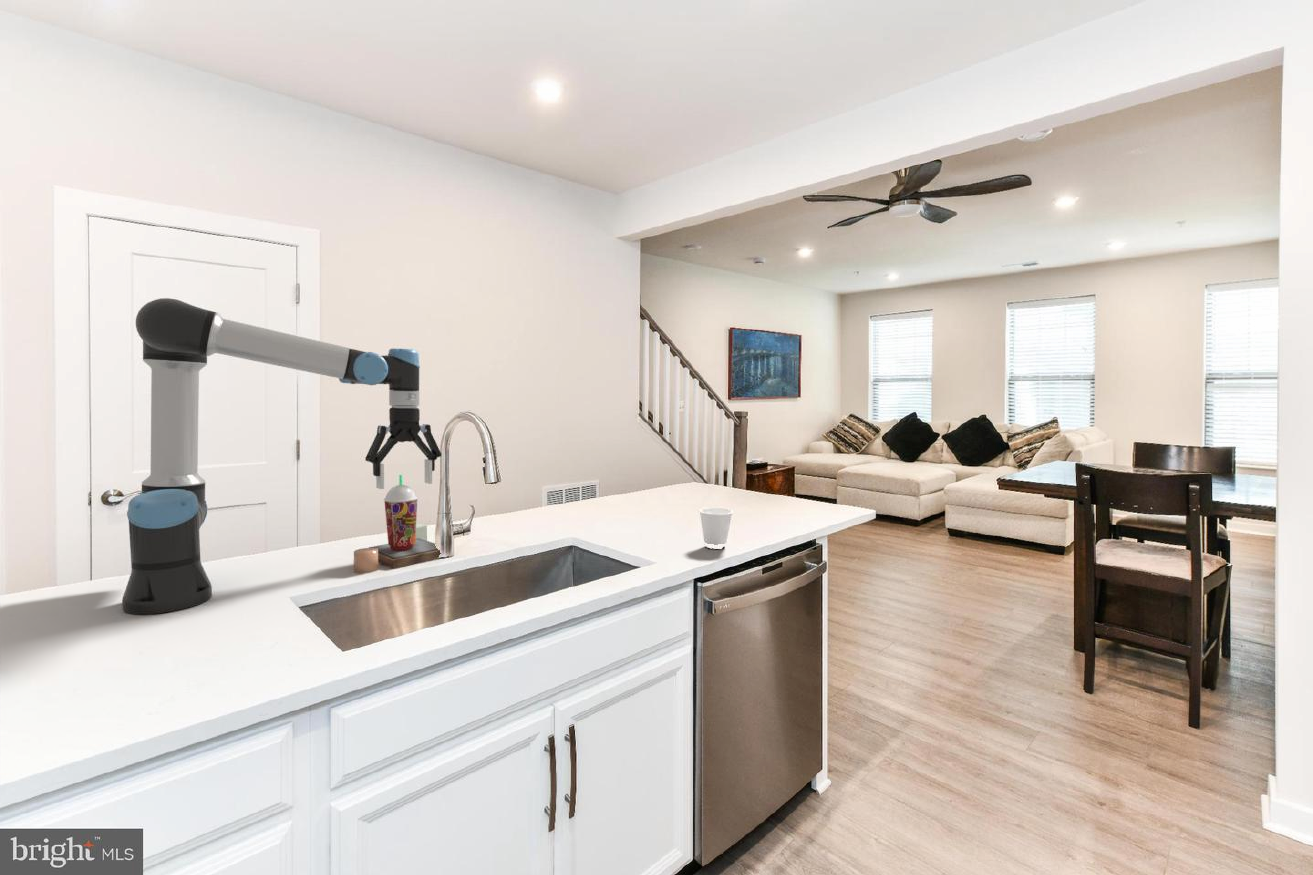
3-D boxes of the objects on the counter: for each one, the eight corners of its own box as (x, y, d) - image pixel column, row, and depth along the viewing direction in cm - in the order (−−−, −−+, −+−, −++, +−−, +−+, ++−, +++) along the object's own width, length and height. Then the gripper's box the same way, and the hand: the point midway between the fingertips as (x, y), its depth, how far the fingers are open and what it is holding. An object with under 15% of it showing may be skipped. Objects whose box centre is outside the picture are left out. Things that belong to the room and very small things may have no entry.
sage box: (414, 545, 184) (413, 528, 184) (401, 543, 186) (401, 526, 186) (427, 541, 188) (426, 525, 188) (414, 539, 191) (414, 523, 190)
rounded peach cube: (360, 574, 156) (359, 555, 155) (350, 570, 159) (349, 550, 159) (382, 569, 160) (382, 550, 160) (372, 565, 164) (371, 546, 163)
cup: (692, 544, 189) (693, 508, 188) (720, 541, 193) (721, 506, 192) (708, 553, 180) (709, 515, 179) (738, 550, 184) (739, 513, 184)
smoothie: (410, 552, 166) (409, 477, 165) (379, 551, 167) (377, 477, 165) (423, 544, 175) (422, 473, 173) (394, 543, 175) (392, 472, 173)
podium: (393, 568, 161) (393, 558, 161) (364, 556, 171) (364, 547, 171) (449, 556, 173) (449, 547, 173) (419, 545, 183) (419, 536, 183)
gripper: (364, 408, 157) (365, 492, 158) (454, 407, 175) (454, 482, 177) (350, 406, 161) (351, 488, 163) (439, 406, 180) (439, 479, 182)
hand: (405, 485), depth 170 cm, fingers open, 13 cm apart
